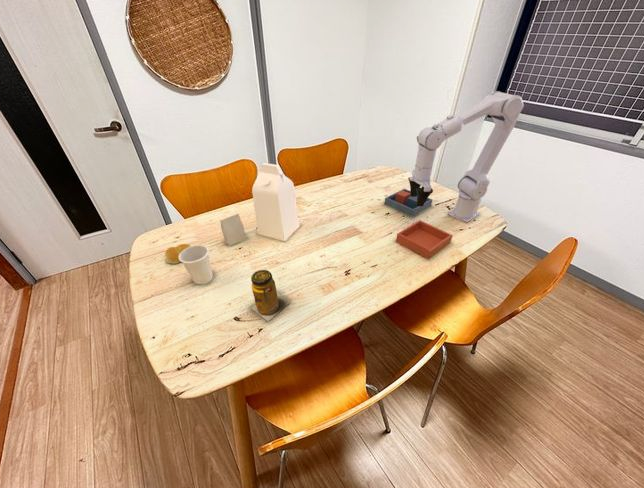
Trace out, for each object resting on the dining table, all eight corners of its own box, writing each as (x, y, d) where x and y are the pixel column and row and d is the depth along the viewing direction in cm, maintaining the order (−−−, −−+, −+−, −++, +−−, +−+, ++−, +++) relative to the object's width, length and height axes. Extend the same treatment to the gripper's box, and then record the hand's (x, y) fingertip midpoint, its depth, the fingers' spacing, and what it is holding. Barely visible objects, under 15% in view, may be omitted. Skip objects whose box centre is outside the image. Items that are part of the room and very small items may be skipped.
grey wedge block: (246, 238, 104) (240, 215, 98) (229, 246, 100) (222, 222, 94) (241, 234, 106) (236, 211, 100) (225, 241, 103) (218, 218, 96)
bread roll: (197, 257, 96) (193, 248, 93) (169, 267, 92) (164, 258, 89) (191, 245, 101) (188, 236, 99) (165, 254, 97) (160, 245, 95)
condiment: (250, 308, 77) (242, 277, 70) (273, 291, 82) (267, 260, 75) (268, 321, 73) (260, 290, 66) (290, 303, 78) (286, 271, 71)
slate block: (412, 203, 121) (413, 194, 118) (420, 207, 119) (422, 198, 116) (405, 207, 119) (407, 198, 116) (414, 211, 116) (416, 201, 114)
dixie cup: (201, 291, 83) (190, 266, 77) (183, 281, 86) (172, 256, 80) (222, 274, 88) (214, 250, 82) (205, 266, 92) (196, 241, 86)
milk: (299, 225, 110) (294, 161, 94) (284, 241, 102) (275, 173, 86) (274, 219, 114) (264, 156, 98) (258, 234, 106) (244, 168, 90)
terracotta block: (400, 199, 125) (402, 190, 122) (409, 202, 122) (410, 193, 119) (394, 202, 123) (396, 193, 120) (402, 205, 120) (404, 196, 117)
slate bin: (403, 195, 129) (404, 188, 127) (430, 207, 120) (432, 199, 118) (384, 205, 122) (385, 197, 120) (411, 218, 113) (413, 210, 111)
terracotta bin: (417, 227, 107) (419, 220, 105) (450, 243, 99) (452, 235, 97) (395, 241, 100) (397, 233, 98) (428, 259, 92) (430, 251, 90)
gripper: (406, 158, 101) (401, 192, 110) (419, 174, 90) (411, 211, 98) (425, 157, 102) (418, 191, 110) (440, 173, 90) (431, 210, 99)
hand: (416, 200), depth 104 cm, fingers open, 7 cm apart
